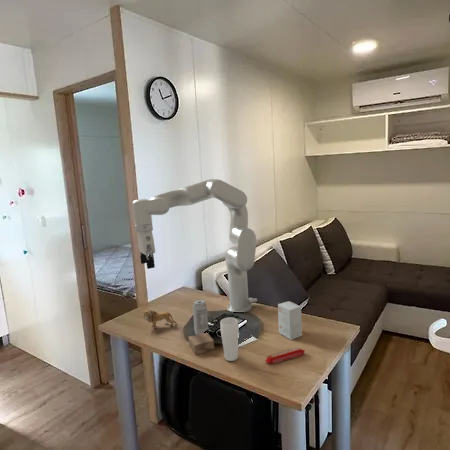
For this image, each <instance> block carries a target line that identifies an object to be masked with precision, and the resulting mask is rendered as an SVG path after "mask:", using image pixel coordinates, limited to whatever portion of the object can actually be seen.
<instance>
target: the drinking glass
mask: <svg viewBox="0 0 450 450" xmlns="http://www.w3.org/2000/svg"><path fill="white" fill-rule="evenodd" d="M219 323H220V325H219V326H220V327H219V328H220V335H221V340H222V341H221V342H222V348H223V356H224V359H225V360H226V361H228V362H234V361H237V360H238V359H239V347H238V338H239V334H240V332H239V331H240V330H239V320H238V319H237V318H235V317H231V316H230V317H225V318H223V319H221V320H220V322H219Z"/></svg>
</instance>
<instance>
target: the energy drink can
mask: <svg viewBox="0 0 450 450" xmlns="http://www.w3.org/2000/svg"><path fill="white" fill-rule="evenodd" d="M192 316H193V324H194V325H193V328H194V335H198V334H202V333H204V332H205V331H206V330H207V329H208V330H209V319H208V318H209V317H208V316H209V315H208V305H207V303H206V301H205V300H204V299H197V300H194V301H193V304H192Z"/></svg>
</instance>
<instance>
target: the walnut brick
mask: <svg viewBox="0 0 450 450" xmlns="http://www.w3.org/2000/svg"><path fill="white" fill-rule="evenodd" d="M214 341H215V340H214V339H213V337H211V335H210V334H209V332H208V333H207V332H206V333H202V334H198V335H196V334H194V335H190V336H188V346H189V348H190V349H191V351H192V353H193V354H194V355H199V354H204V353H208V352H210V351H214V350H215V344H214V343H215V342H214Z"/></svg>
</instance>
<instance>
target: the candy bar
mask: <svg viewBox="0 0 450 450" xmlns="http://www.w3.org/2000/svg"><path fill="white" fill-rule="evenodd" d="M305 351H306V350H305V349H302V348H300V347H295V348H291V349H288V350H285V351H281V352H277V353H274V354H271V355H268V356H266V358H265V360H264V362H266V363H267V364H271V365H273V364H277V363H282V362H285V361H288V360H292V359H294V358H298V357H300V356H301V357H302V356H303V355H304V354H305Z"/></svg>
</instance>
